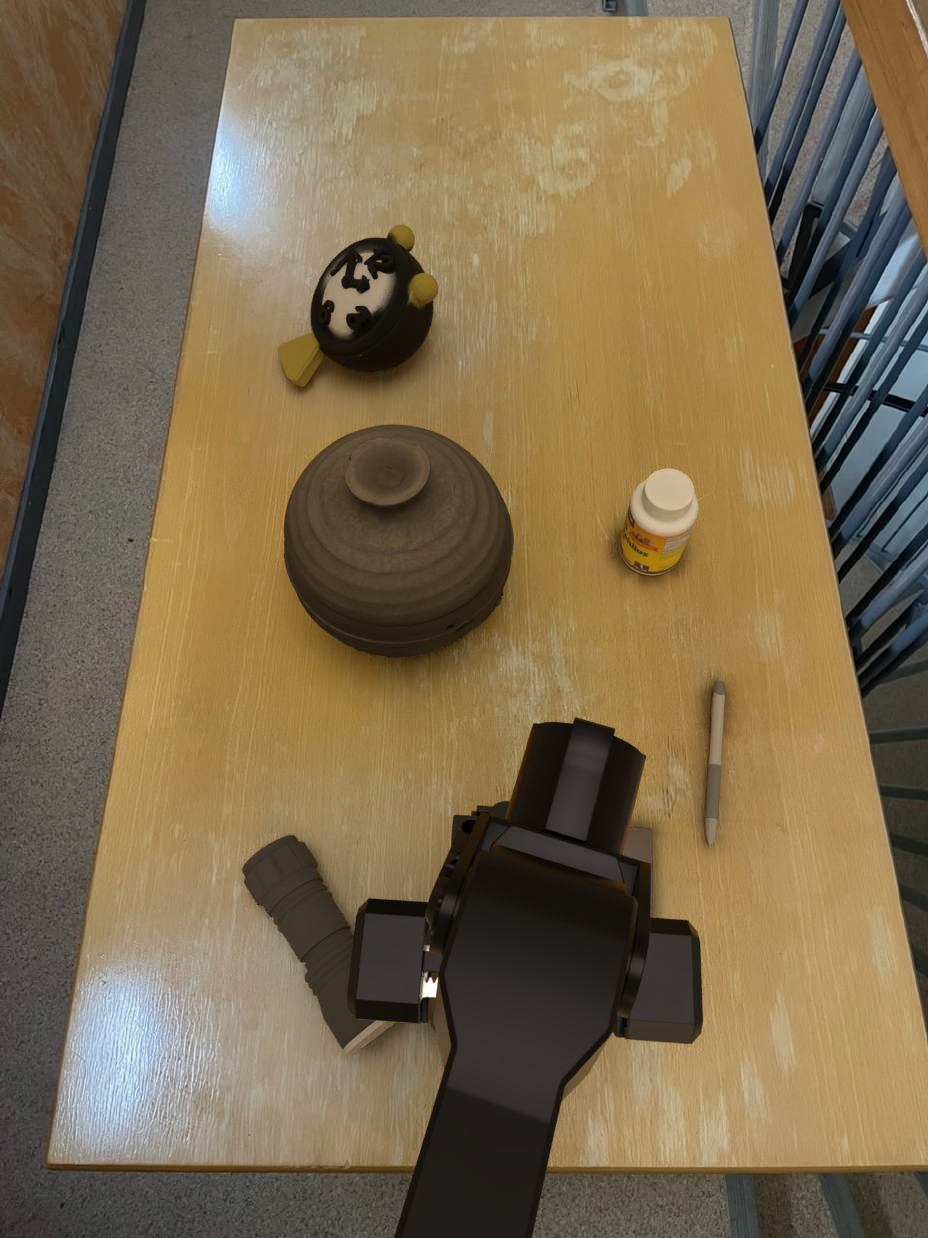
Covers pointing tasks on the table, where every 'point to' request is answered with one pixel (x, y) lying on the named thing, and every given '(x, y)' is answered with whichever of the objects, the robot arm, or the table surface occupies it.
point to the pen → (715, 761)
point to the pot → (397, 541)
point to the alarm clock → (366, 309)
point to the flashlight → (311, 932)
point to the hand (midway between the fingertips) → (519, 979)
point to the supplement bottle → (658, 522)
